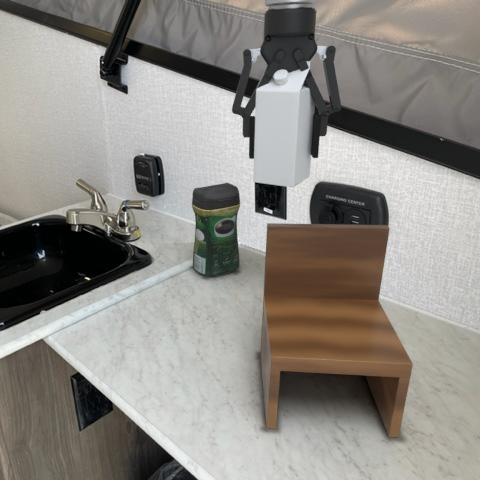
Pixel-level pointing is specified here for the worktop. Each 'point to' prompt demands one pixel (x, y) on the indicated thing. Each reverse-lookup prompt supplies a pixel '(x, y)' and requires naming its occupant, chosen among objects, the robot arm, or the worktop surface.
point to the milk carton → (283, 129)
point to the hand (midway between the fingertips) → (282, 156)
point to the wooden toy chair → (330, 313)
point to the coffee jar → (216, 229)
